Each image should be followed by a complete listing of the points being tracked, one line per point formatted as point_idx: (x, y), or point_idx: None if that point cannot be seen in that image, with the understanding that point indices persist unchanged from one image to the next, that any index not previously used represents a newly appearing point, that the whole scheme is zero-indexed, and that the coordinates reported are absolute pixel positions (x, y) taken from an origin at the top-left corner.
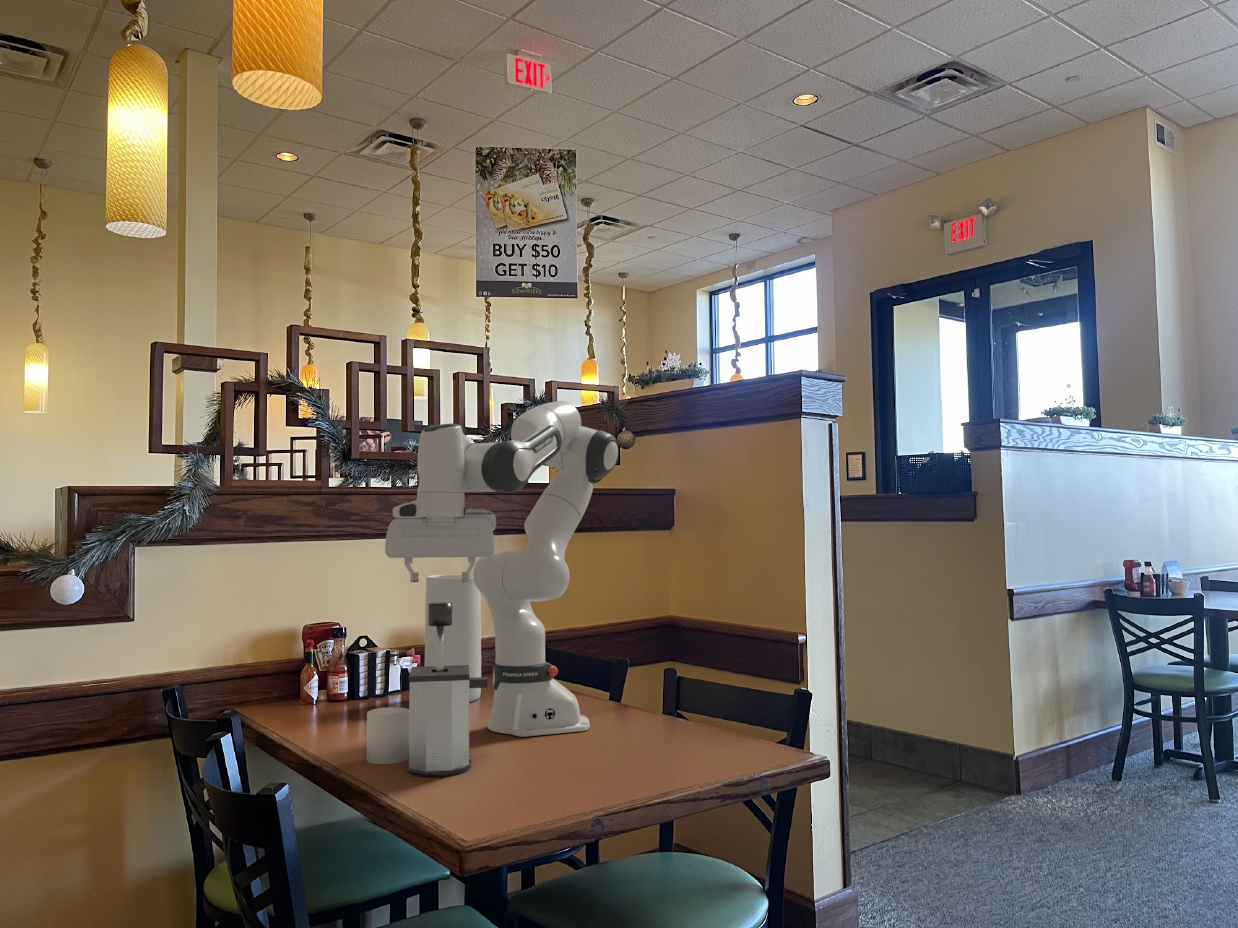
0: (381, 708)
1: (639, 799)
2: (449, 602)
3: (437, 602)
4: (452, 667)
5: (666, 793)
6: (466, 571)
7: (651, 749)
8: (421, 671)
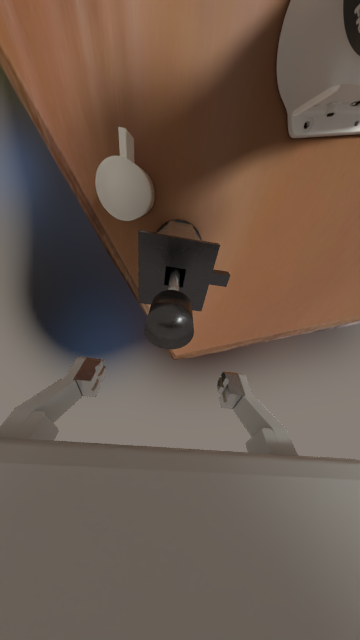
0: (109, 161)
1: (260, 338)
2: (190, 322)
3: (164, 313)
4: (193, 259)
5: (277, 335)
6: (234, 410)
7: (352, 251)
8: (152, 275)
